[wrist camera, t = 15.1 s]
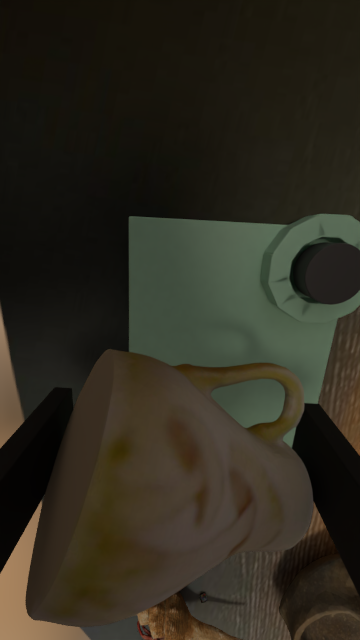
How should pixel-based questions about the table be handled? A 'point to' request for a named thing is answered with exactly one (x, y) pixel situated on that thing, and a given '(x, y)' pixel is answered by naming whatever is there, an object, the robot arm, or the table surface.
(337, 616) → the bowl
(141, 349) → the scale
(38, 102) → the table surface
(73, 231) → the table surface
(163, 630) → the spiral seashell
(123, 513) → the mug
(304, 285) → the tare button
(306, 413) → the robot arm
